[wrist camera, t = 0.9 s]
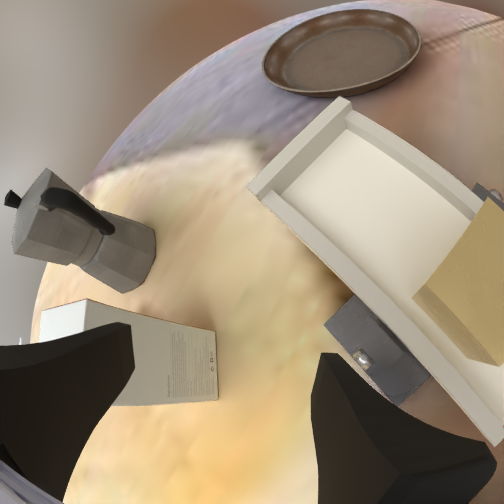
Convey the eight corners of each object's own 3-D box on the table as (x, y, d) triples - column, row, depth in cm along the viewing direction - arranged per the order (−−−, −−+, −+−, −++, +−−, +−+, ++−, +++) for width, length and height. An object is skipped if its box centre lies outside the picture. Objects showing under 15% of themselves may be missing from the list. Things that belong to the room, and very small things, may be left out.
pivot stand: (523, 247, 14) (543, 222, 11) (396, 404, 16) (395, 417, 12) (450, 186, 19) (455, 151, 15) (326, 326, 21) (308, 318, 17)
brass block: (516, 290, 11) (557, 272, 7) (467, 358, 12) (499, 367, 7) (462, 233, 14) (487, 196, 9) (411, 298, 14) (424, 283, 10)
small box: (217, 330, 25) (87, 296, 14) (220, 401, 22) (83, 408, 12) (153, 336, 28) (40, 309, 18) (154, 396, 26) (36, 389, 15)
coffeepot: (98, 290, 36) (-17, 245, 22) (114, 227, 39) (11, 170, 24) (173, 301, 29) (3, 236, 14) (192, 216, 31) (55, 122, 17)
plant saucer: (245, 84, 37) (233, 68, 34) (336, 17, 34) (329, 1, 31) (354, 140, 25) (346, 117, 22) (451, 50, 22) (448, 29, 20)
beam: (564, 324, 9) (589, 320, 7) (483, 434, 10) (499, 451, 8) (347, 124, 20) (339, 96, 17) (265, 206, 21) (245, 186, 18)
